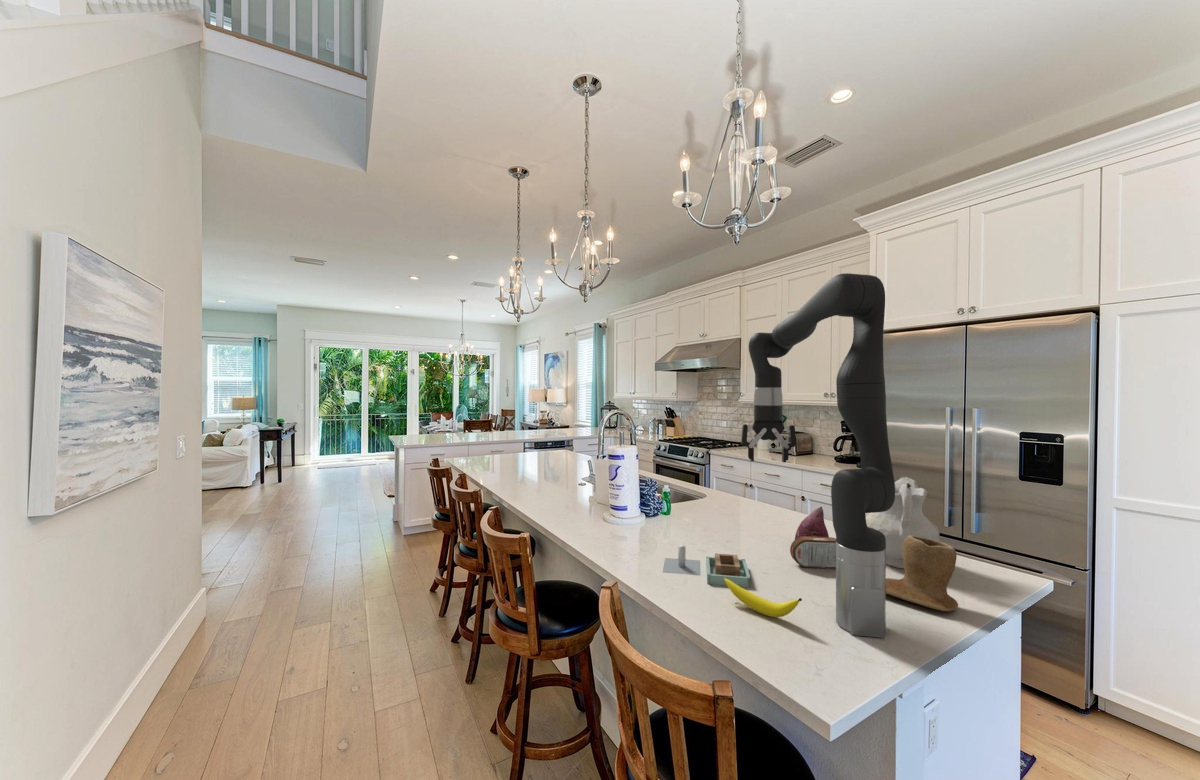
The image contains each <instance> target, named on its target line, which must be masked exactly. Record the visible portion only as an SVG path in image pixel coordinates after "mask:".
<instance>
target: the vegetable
mask: <svg viewBox="0 0 1200 780" xmlns="http://www.w3.org/2000/svg"><path fill="white" fill-rule="evenodd" d="M824 513H825V512H824V509H823V506H820V507H817V508H815V509H814V510H813V511H812V512H811V513H809V514H808V515H807V516H806V517H805V518H804V519H803V520H802V521H801V522H800V523H799V526H798V527H797V528H796V529H797V530H796V531H795V537H794V540H795V539H797V538H799V537H802V536H811V537H830V536H829V532H828V529H827V525H826V523H825V518H824V516H825V514H824Z"/></svg>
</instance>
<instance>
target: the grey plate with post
mask: <svg viewBox="0 0 1200 780" xmlns="http://www.w3.org/2000/svg"><path fill="white" fill-rule="evenodd" d="M677 549H678V551H677V553H678V555H677V558H671V557H670V558H669V557H665V558H664V562H663V566H662V567H663V569H662V573H669V574H681V575H692V576H701V560H699V559H686V545H684V544H679V545H678V546H677Z"/></svg>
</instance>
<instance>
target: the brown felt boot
mask: <svg viewBox="0 0 1200 780" xmlns="http://www.w3.org/2000/svg"><path fill="white" fill-rule="evenodd" d="M902 556H903V563H904V568H903V569H904V576H903V578H900V579H897V578H890V577H886V594H887V595H888V596H892V597H894V598H899V599H901V600H904V601H907V602H910V603H913V604H916V605H919V606H923V607H926V608H929V609H933V610H938V611H941V612H952V611H955V610H957V608H958V606H959V603H958V601H957V600H956V599H955V598H954V597H952V596H950V595H949V594H948V590H947V589H948V585H949V582H950V580H951V579H952V576H953V574H954V572H955V568H956V563H957V557H958V556H957V552H956V550H955V548H954V547H953V546H951V545H950V544H947V543H945V542H942V541H940V540H939V541H935V540H931V539H927V538H923V537H917V536H911V535H909V536H907V537H906V538H905V540H904V542H903V548H902Z"/></svg>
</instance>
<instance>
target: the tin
mask: <svg viewBox="0 0 1200 780" xmlns="http://www.w3.org/2000/svg"><path fill="white" fill-rule="evenodd" d="M789 549H790V550H789V552H790V556H791V558H792V559H793V560H794V561H795V562H796V564H798V565H799V566H800V567H804V568H811V569H831V570H834V569H835V570H836V537H831V536H829V537H811V536H802V537H799V538H797V539H795V538H794V540H793V541H792V542H791V544H790V548H789Z"/></svg>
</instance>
